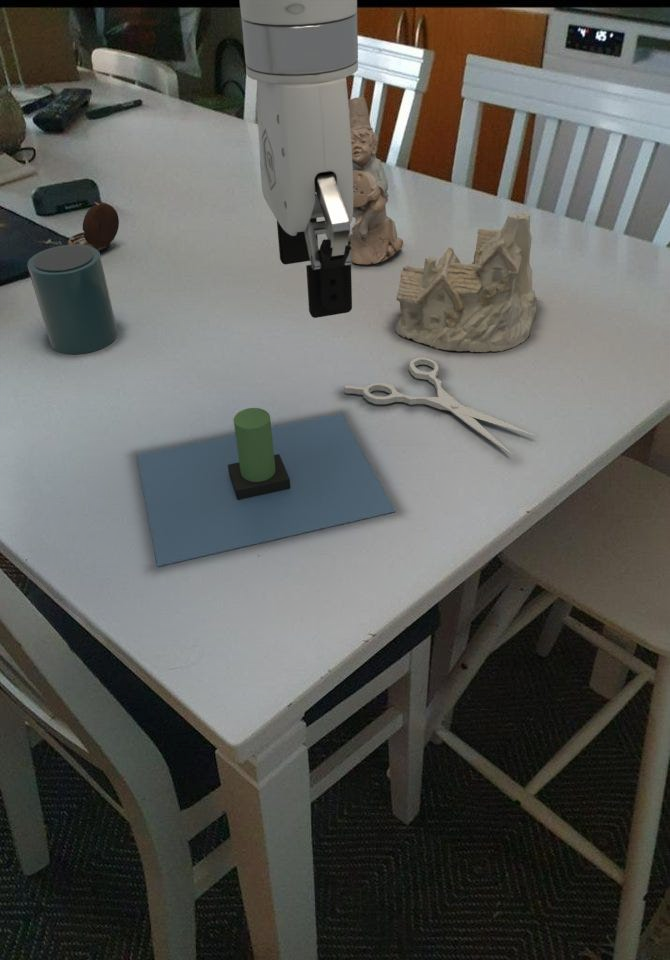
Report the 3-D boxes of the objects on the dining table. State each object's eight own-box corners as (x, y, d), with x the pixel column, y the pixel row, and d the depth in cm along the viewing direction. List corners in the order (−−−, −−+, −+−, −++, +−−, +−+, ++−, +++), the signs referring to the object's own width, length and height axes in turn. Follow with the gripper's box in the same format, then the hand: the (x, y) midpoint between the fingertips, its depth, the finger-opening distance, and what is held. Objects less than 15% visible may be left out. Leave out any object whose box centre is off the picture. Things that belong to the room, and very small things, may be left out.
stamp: (237, 500, 73) (228, 436, 69) (228, 474, 76) (219, 411, 72) (290, 488, 74) (285, 424, 70) (280, 463, 77) (274, 400, 73)
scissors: (411, 349, 91) (561, 420, 80) (411, 355, 92) (559, 426, 80) (343, 386, 86) (492, 468, 74) (343, 392, 86) (492, 474, 75)
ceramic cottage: (550, 300, 101) (558, 179, 91) (511, 368, 90) (516, 239, 80) (432, 285, 107) (429, 171, 97) (383, 348, 96) (373, 226, 87)
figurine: (352, 238, 118) (349, 90, 105) (408, 245, 115) (412, 94, 103) (331, 264, 111) (325, 109, 99) (390, 271, 109) (391, 114, 96)
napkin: (157, 567, 67) (157, 566, 67) (136, 455, 79) (136, 454, 79) (395, 512, 71) (395, 511, 71) (341, 414, 83) (341, 413, 83)
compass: (89, 235, 122) (78, 187, 117) (126, 246, 118) (116, 197, 114) (47, 255, 117) (34, 205, 112) (85, 267, 113) (72, 216, 109)
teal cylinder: (51, 359, 94) (27, 278, 87) (49, 327, 100) (26, 249, 93) (120, 347, 96) (102, 266, 89) (114, 316, 102) (96, 239, 95)
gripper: (222, 27, 59) (247, 250, 70) (273, 83, 46) (293, 346, 57) (321, 18, 61) (330, 237, 71) (398, 70, 48) (394, 328, 59)
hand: (314, 285), depth 64 cm, fingers open, 9 cm apart
